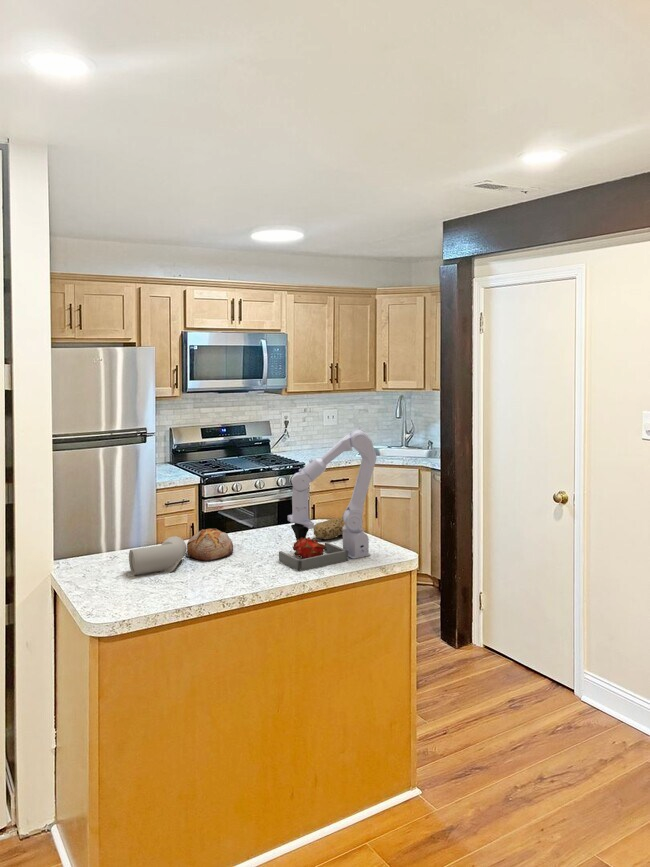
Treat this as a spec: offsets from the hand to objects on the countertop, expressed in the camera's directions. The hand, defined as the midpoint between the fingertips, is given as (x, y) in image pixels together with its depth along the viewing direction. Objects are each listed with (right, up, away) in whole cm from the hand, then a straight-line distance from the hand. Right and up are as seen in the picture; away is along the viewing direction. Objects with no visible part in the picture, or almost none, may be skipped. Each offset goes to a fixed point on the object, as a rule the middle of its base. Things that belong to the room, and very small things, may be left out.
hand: (300, 544), depth 248 cm
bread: (-33, -4, +4) cm, 33 cm away
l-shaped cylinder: (-48, -6, -13) cm, 50 cm away
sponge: (+12, -1, +25) cm, 28 cm away
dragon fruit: (+3, -5, -4) cm, 7 cm away
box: (+5, -5, -6) cm, 9 cm away
